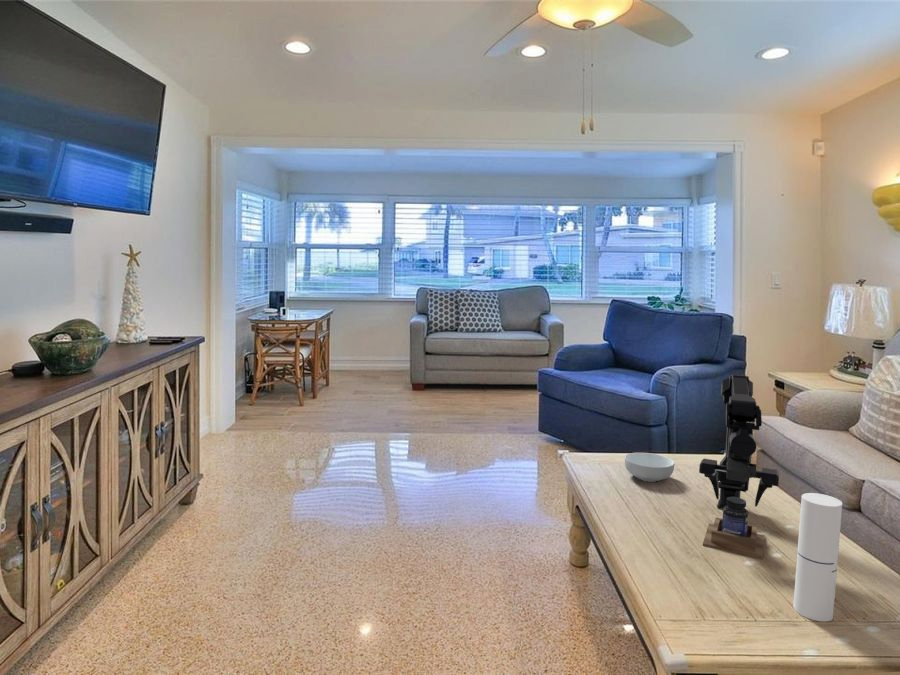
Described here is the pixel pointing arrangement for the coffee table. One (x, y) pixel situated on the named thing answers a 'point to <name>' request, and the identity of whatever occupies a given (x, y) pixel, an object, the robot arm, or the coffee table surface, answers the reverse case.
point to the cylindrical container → (817, 556)
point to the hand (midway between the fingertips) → (736, 502)
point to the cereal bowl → (649, 466)
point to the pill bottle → (735, 517)
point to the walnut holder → (735, 540)
